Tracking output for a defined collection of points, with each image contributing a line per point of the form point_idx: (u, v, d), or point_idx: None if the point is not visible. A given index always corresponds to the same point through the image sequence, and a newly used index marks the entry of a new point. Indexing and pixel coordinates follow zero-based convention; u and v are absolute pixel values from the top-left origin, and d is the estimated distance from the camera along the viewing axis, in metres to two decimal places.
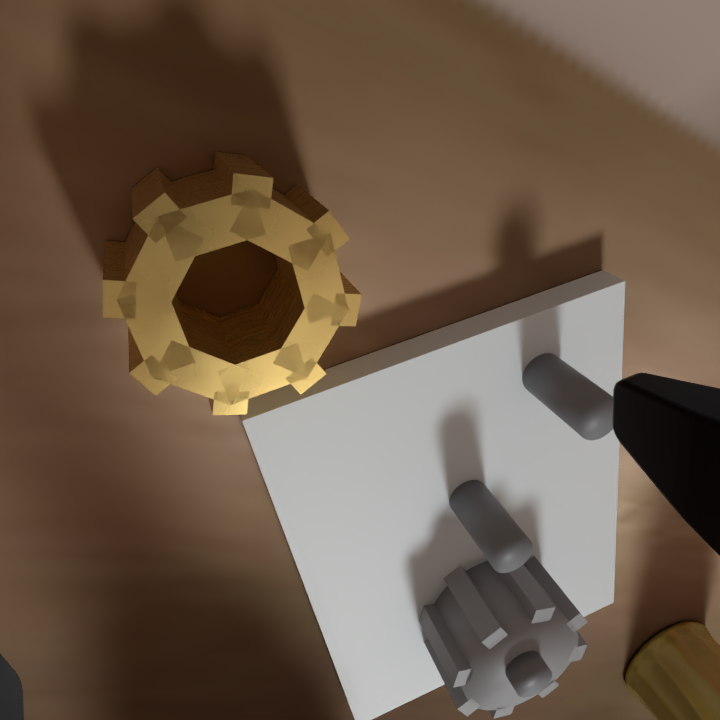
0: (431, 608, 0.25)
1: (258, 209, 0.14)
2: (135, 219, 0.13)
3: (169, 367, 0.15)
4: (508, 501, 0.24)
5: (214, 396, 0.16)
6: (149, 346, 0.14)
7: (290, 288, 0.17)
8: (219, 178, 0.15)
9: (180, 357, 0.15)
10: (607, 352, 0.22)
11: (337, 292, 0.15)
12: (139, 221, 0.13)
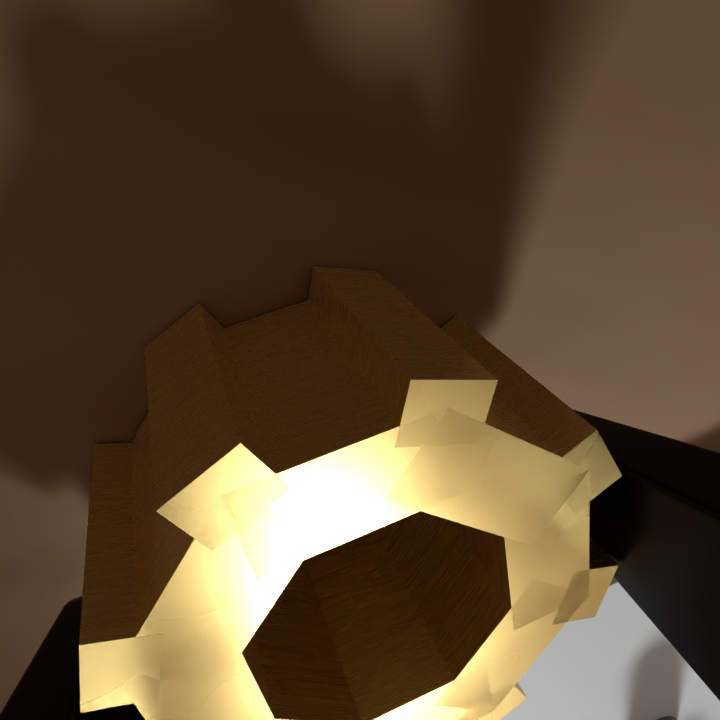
0: None
1: (453, 446, 0.06)
2: (163, 513, 0.05)
3: None
4: None
5: None
6: None
7: (453, 525, 0.09)
8: (335, 339, 0.07)
9: None
10: None
11: (576, 569, 0.07)
12: (173, 512, 0.05)
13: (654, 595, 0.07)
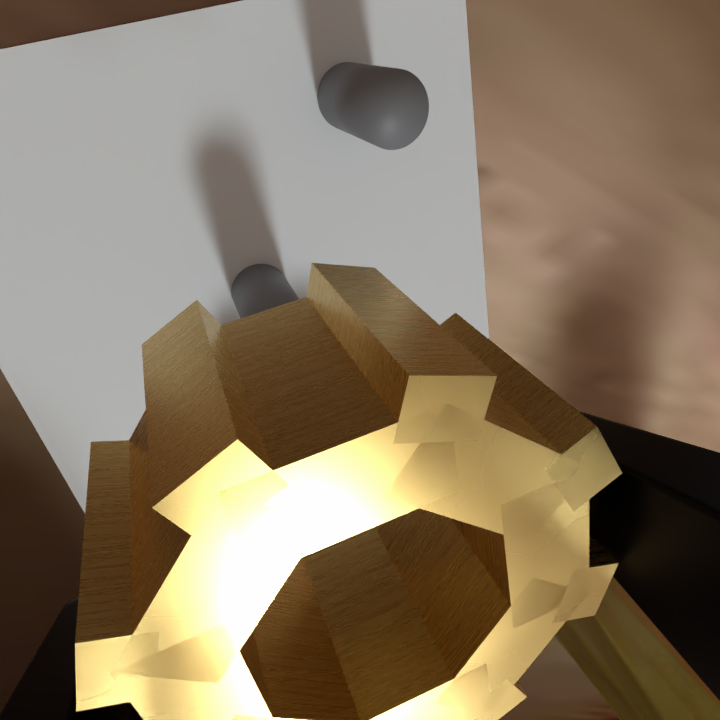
0: None
1: (453, 443, 0.06)
2: (159, 509, 0.05)
3: None
4: None
5: None
6: None
7: (452, 523, 0.08)
8: (334, 335, 0.07)
9: None
10: (448, 81, 0.16)
11: (576, 567, 0.07)
12: (169, 509, 0.05)
13: (654, 595, 0.07)
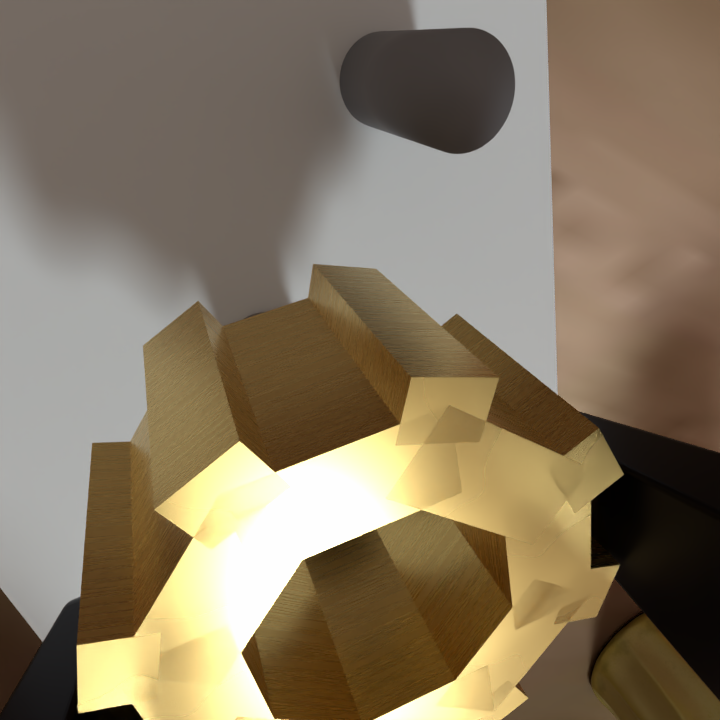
0: None
1: (454, 445, 0.06)
2: (161, 512, 0.05)
3: None
4: None
5: None
6: None
7: (453, 524, 0.08)
8: (335, 337, 0.07)
9: None
10: (517, 58, 0.12)
11: (577, 568, 0.07)
12: (171, 511, 0.05)
13: (654, 595, 0.07)
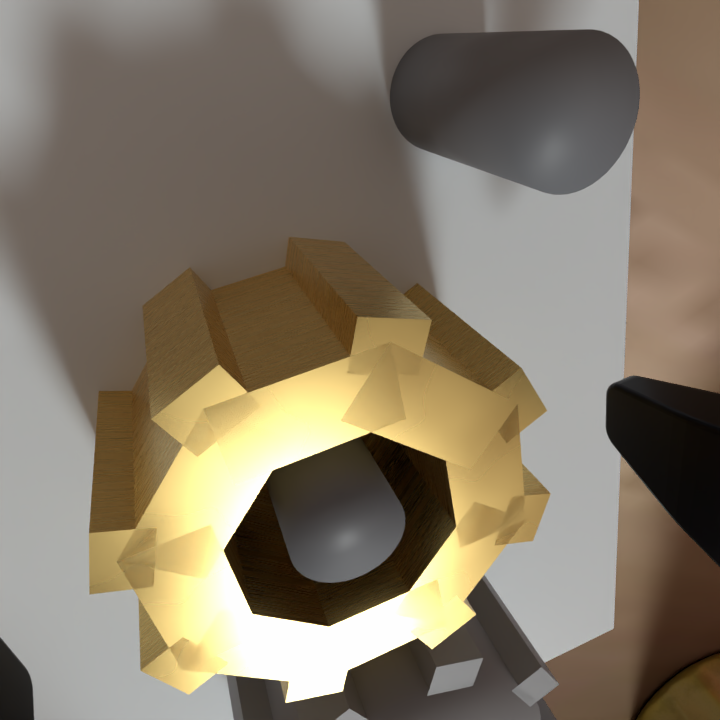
0: None
1: (397, 377, 0.07)
2: (157, 420, 0.06)
3: (214, 649, 0.08)
4: None
5: (289, 671, 0.09)
6: (179, 625, 0.08)
7: (412, 464, 0.10)
8: (305, 295, 0.08)
9: (235, 632, 0.08)
10: None
11: (512, 495, 0.09)
12: (165, 421, 0.06)
13: None
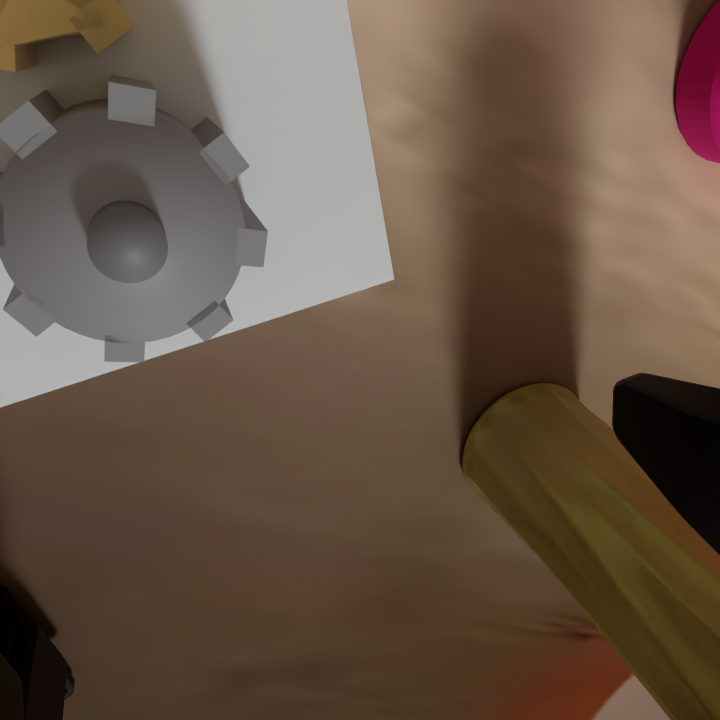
0: None
1: None
2: None
3: None
4: None
5: None
6: None
7: None
8: None
9: None
10: None
11: None
12: None
13: None
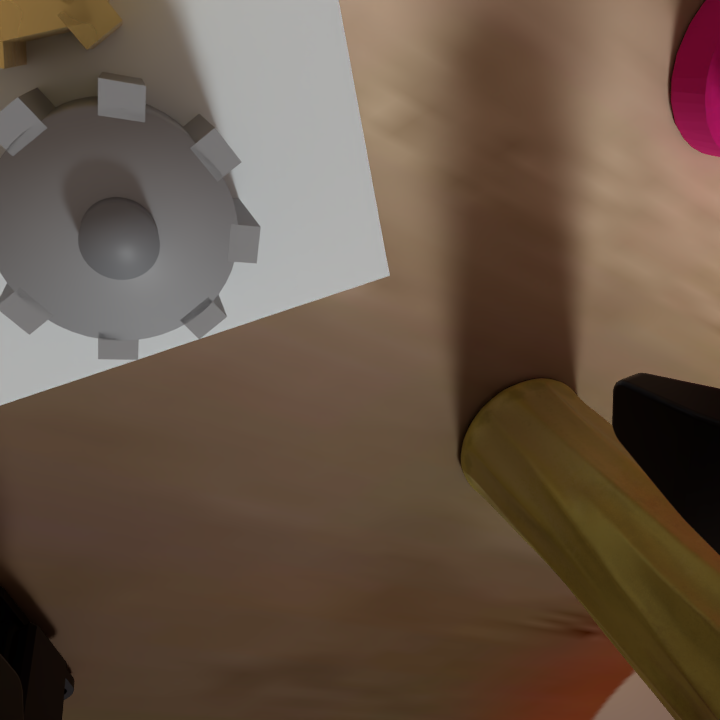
0: None
1: None
2: None
3: None
4: None
5: None
6: None
7: None
8: None
9: None
10: None
11: None
12: None
13: None
